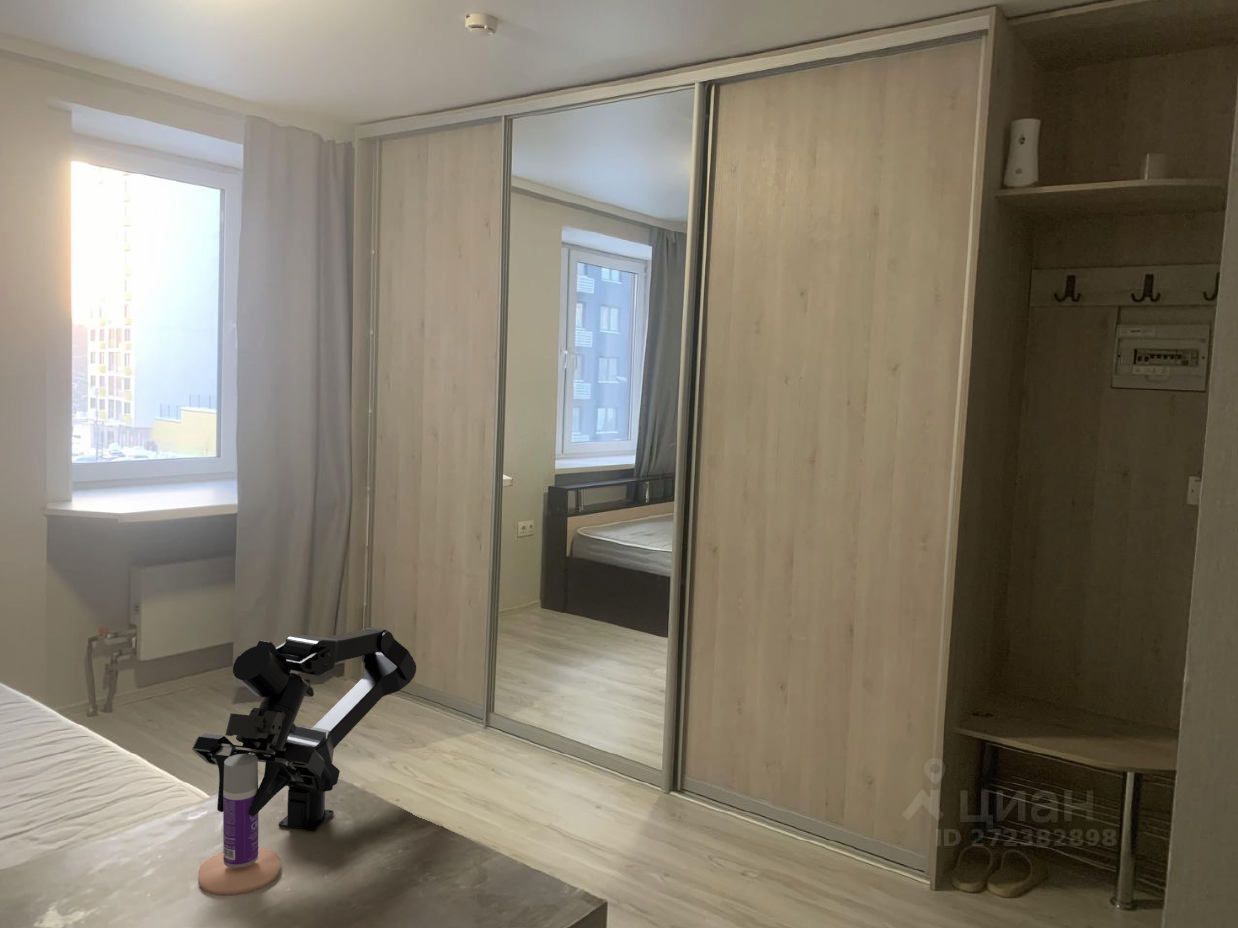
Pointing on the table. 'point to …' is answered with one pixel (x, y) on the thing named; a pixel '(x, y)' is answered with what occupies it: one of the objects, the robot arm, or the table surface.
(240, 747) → the robot arm
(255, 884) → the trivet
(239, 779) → the container
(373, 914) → the table surface
